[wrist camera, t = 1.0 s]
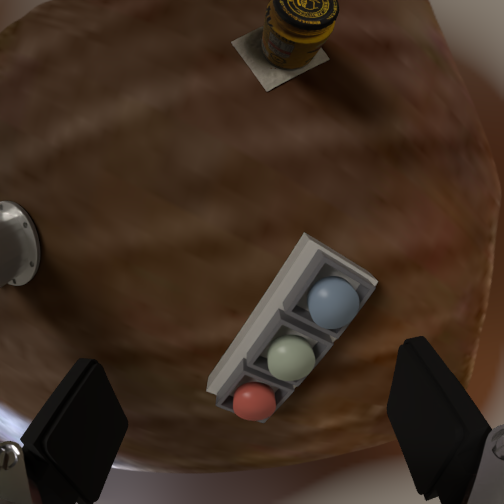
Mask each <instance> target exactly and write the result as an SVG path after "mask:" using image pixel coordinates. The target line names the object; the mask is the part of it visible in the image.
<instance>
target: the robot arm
mask: <svg viewBox="0 0 504 504" xmlns="http://www.w3.org/2000/svg"><path fill="white" fill-rule="evenodd" d="M39 262H40V243H39V238H38V234H37V231H36V228H35V226H34V224H33V222H32V220H31V218H30V216H29V215H28V213H27V212H26V211H25V210H24V209H23V208H22V207H21V206H20V205H18V204H17V203H15V202H12V201H2V202H0V288H1V287H2V286H4V285H5V284H7V283H8V284H10V285H14V286H21V285H24V284H26V283H27V282H29V281H30V280H31V279H32V278H33V277H34V276H35V274H36V273H37V270H38V267H39ZM387 414H388V417H389V420H390V422H391V424H392V427H393V429H394V432H395V434H396V437H397V439H398V442H399V444H400V447H401V449H402V452H403V455H404V457H405V460H406V462H407V465H408V468H409V470H410V473H411V476H412V478H413V481H414V484H415V486H416V489H417V492H418V493H419V494H420V495H422V494H424V497H425V500H426V501H427V500H430V499H432V498H435V497H438V496H439V499H440V502H441V504H504V425H500V426H497V427H496V428H494V429H493V430H492V429H491V427H490V426H489V424H488V423H487V421H486V420H485V418H484V417H483V415H482V414H481V412H480V411H479V409H478V408H477V406H476V405H475V403H474V402H473V400H471V398H470V396H469V395H468V393H467V392H466V391H465V389H464V388H463V386H462V385H461V384H460V382H459V381H458V379H457V378H456V377H455V375H454V374H453V373H452V372H451V371H450V370H449V368H448V367H447V366H446V364H445V363H444V362H443V360H442V359H441V358H440V356H439V355H438V354H437V352H436V351H435V350H434V349H433V347H432V346H431V345H430V343H429V342H428V341H427V340H426V338H425V337H424V336H419V337H415V338H410V339H406V340H405V341H404V344H403V345H400V347H399V350H398V356H397V361H396V366H395V372H394V376H393V381H392V386H391V390H390V395H389V399H388V403H387ZM127 428H128V420H127V417H126V416H125V414H124V412H123V410H122V408H121V406H120V404H119V402H118V399H117V397H116V395H115V393H114V391H113V389H112V387H111V384H110V382H109V380H108V378H107V376H106V373H105V371H104V369H103V367H102V365H101V364H99V363H98V361H97V360H95V359H85V358H80V359H79V360H77V362H76V363H75V364H74V366H73V367H72V368H71V369H70V371H69V372H68V373H67V375H66V376H65V377H64V379H63V380H62V381H61V383H60V384H59V385H58V387H57V388H56V389H55V391H54V392H53V393H52V395H51V396H50V397H49V399H48V400H47V402H46V403H45V404H44V406H43V407H42V408H41V410H40V411H39V413H38V414H37V415H36V417H35V418H34V420H33V421H32V423H31V424H30V425H29V427H28V428H27V430H26V431H25V433H24V434H23V436H22V437H21V439H20V440H21V442H22V443H23V444H24V446H23V448H21V446H20V445H19V444H18V443H16V442H13V441H5V442H2V443H0V504H75V503H76V502H77V503H78V504H93V503H94V502H96V501H97V500H98V499H99V497H100V494H101V491H102V489H103V486H104V484H105V481H106V479H107V476H108V474H109V472H110V469H111V467H112V464H113V462H114V459H115V457H116V455H117V452H118V450H119V447H120V445H121V443H122V440H123V438H124V436H125V433H126V431H127Z"/></svg>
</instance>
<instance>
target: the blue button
mask: <svg viewBox="0 0 504 504" xmlns="http://www.w3.org/2000/svg"><path fill="white" fill-rule="evenodd" d="M307 306H308V309H309V312H310V314H311V317H312V319H313V321H314V322H315V323H316V324H317V325H318V326H320V327H322V328H325V329H337V328H340V327H343V326H345V325H346V324H348V323H349V322H350V321H351V320H352V319H353V318H354V317H355V315H356V314H357V312H358V309H359V297H358V294H357V292H356V291H355V290H354V288H353V287H352V286H351V284H350V283H349V282H348V281H347V280H346V279H344V278H342V277H339V276H328V277H325V278H322V279H320V280H319V281H317V282H316V283H315V284H314V285H313V286H312V287H311V289H310V290H309V293H308V296H307Z"/></svg>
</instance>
